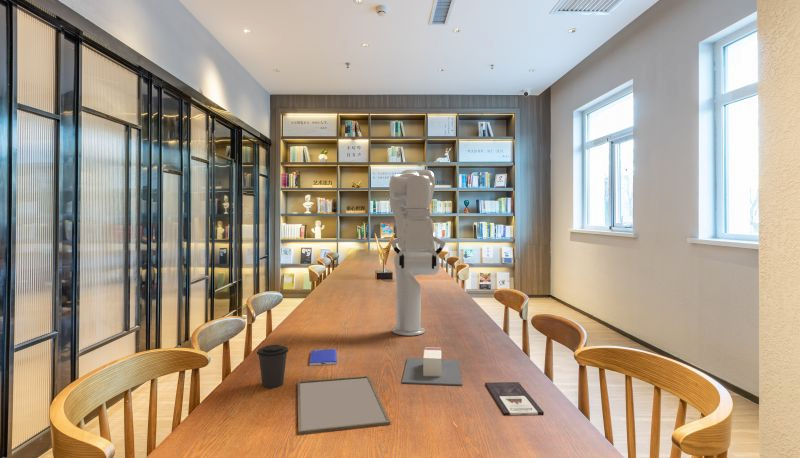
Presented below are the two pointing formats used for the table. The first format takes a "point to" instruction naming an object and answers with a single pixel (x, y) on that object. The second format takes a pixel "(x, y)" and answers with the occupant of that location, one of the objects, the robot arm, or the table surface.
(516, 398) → the chocolate bar
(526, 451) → the table surface
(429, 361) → the card box
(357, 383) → the picture frame
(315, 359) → the hard drive
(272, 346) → the coffee cup
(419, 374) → the mat
